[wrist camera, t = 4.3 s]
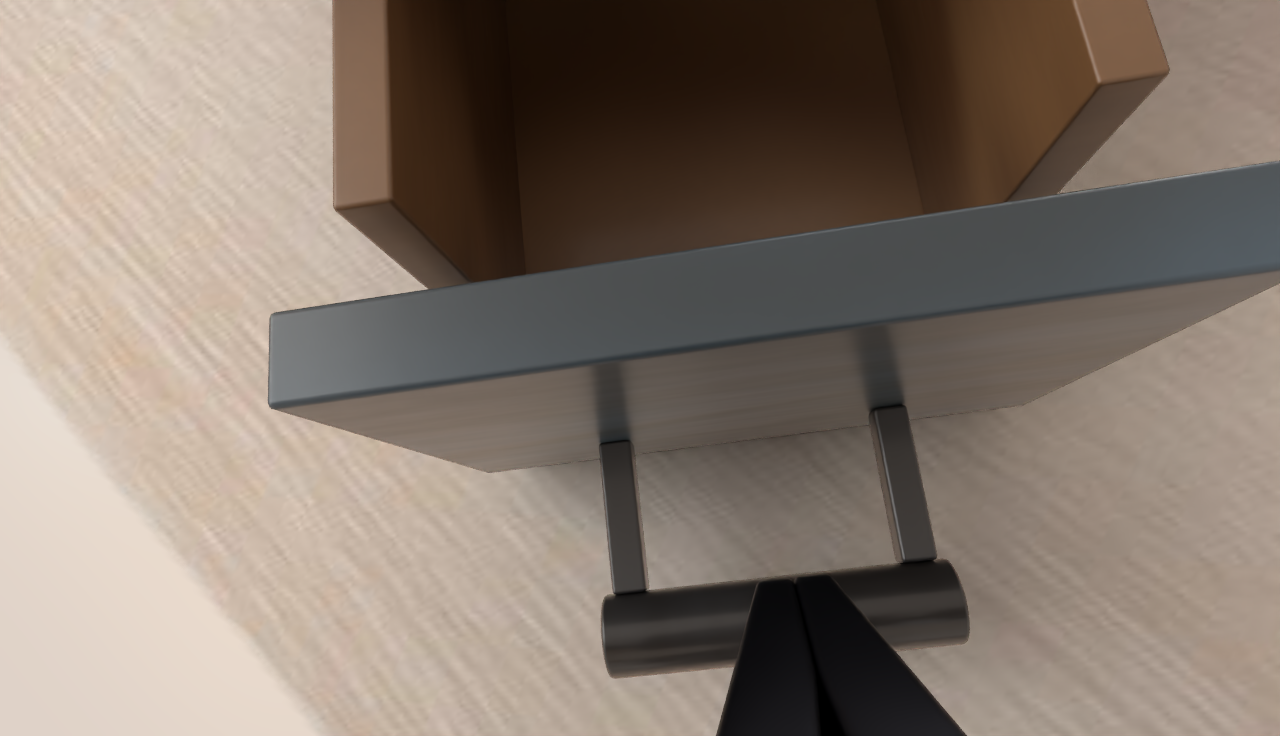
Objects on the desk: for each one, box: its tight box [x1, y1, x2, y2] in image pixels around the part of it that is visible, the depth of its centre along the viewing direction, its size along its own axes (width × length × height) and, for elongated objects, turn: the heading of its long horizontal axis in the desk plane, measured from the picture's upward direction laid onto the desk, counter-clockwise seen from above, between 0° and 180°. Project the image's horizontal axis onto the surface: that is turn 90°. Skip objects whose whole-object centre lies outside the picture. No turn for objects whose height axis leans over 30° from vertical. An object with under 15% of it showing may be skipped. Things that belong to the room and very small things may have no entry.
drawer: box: [268, 0, 1280, 679], centre depth 13 cm, size 17×11×8 cm
